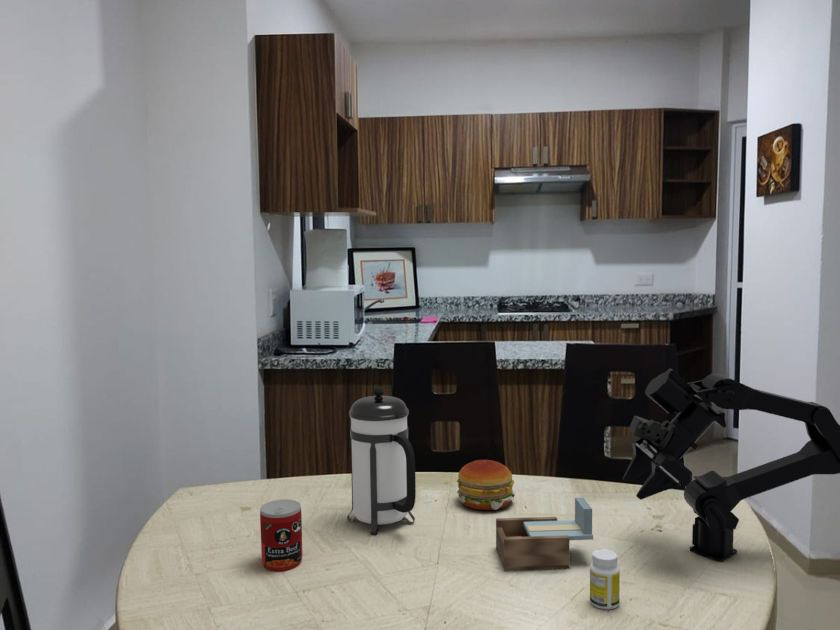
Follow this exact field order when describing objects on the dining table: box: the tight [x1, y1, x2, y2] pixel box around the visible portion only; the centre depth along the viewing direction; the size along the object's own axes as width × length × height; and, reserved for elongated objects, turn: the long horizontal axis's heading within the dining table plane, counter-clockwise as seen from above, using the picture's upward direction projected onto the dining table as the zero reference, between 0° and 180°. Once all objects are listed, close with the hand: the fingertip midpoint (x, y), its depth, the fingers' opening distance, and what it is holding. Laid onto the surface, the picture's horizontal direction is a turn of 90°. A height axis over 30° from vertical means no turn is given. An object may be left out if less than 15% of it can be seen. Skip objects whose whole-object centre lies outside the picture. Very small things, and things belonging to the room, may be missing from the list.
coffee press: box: [346, 386, 417, 536], centre depth 147 cm, size 17×16×30 cm
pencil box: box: [495, 516, 570, 572], centre depth 131 cm, size 12×10×6 cm
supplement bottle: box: [589, 548, 621, 610], centre depth 114 cm, size 5×5×8 cm
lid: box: [523, 497, 594, 541], centre depth 130 cm, size 12×7×6 cm, turn 93°
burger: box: [456, 459, 516, 511], centre depth 160 cm, size 14×14×10 cm
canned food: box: [259, 498, 304, 572], centre depth 130 cm, size 8×8×11 cm
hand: (631, 489), depth 132 cm, fingers open, 9 cm apart
